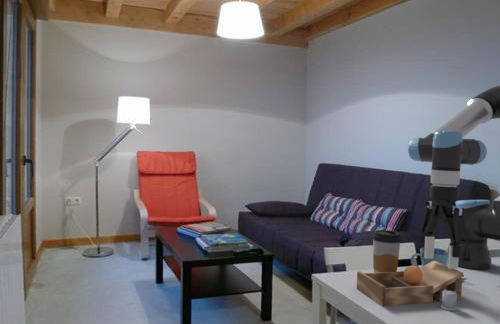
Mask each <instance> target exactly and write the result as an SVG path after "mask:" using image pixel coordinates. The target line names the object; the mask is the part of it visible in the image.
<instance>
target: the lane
mask: <svg viewBox="0 0 500 324" xmlns="http://www.w3.org/2000/svg"><path fill="white" fill-rule="evenodd" d="M418 268H419V269H420V270H421V271H422V275H423V276H422V280H421V281H420V282H419V283H417V284H411V283H409V282H407V281H406V280H405V278H404V271H403V270H402V271H400V270H399V271H397V272H378V273H374V272H362V271H356V272H357V273H356V289H357V290H358V291H359V292H361V293H363V295H365V296H367V297H368V298H369V299H370V300H372V301H374V302H375V303H377V304H378V305H379V306H383V307H384V306H398V305H409V304H410V305H411V304H413V305H414V304H427V303H433V302H434V299H436V300H437V301H439V302H442V292H443V291H445V290H447V291H452V292H453V291H455V292H456V293H457V301H458V300H462V290H463V289H462V287H463V277H465V276H464V272H462V271H461V270H458V269H449V268H448V265H446V264H443V263H441V262H439V261H436V260H432V261H431V262H428V263H426V264H424V265H423V266H422V267H421V266H420V267H418Z"/></svg>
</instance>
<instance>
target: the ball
mask: <svg viewBox="0 0 500 324" xmlns="http://www.w3.org/2000/svg"><path fill="white" fill-rule="evenodd" d="M419 268H420V267H418V266H416V265H409V266H406V268H404V278H405V280H406V281H407V282H409V283H411V284H417V283H419V282H420V281H421V280H422V276H423V275H422V271H421V270H420V269H419Z"/></svg>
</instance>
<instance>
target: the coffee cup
mask: <svg viewBox="0 0 500 324" xmlns="http://www.w3.org/2000/svg"><path fill="white" fill-rule="evenodd" d="M401 239H402V237H401V236H400V233H399V232H398V231H394V230H386V229H378V230H374V234H373V235H372V243H373V244H372V247H373V249H372V250H373V251H372V259H373V260H372V263H373V264H372V265H373V266H372V268H373V273H378V272H398V266H399V257H400V256H399V255H400V246H401V242H402V240H401Z"/></svg>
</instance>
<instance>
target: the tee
mask: <svg viewBox="0 0 500 324" xmlns="http://www.w3.org/2000/svg"><path fill="white" fill-rule="evenodd" d="M457 301H458V300H457V293H456V292H455V291H453V292H452V291H447V290H445V291H443V292H442V301H441V304H440V308H441V309H442V310H445V311H449V312H456V311H458V306H457Z"/></svg>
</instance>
